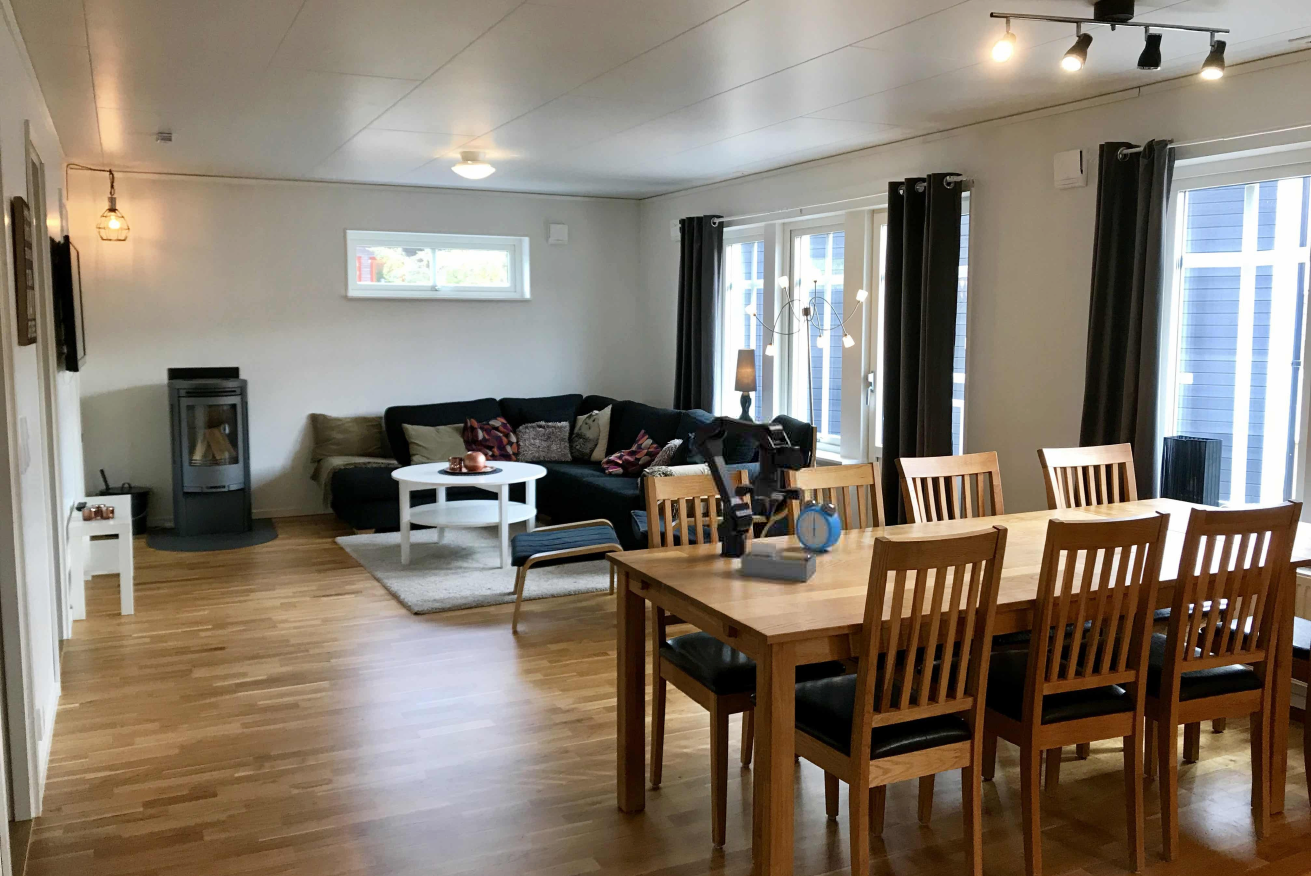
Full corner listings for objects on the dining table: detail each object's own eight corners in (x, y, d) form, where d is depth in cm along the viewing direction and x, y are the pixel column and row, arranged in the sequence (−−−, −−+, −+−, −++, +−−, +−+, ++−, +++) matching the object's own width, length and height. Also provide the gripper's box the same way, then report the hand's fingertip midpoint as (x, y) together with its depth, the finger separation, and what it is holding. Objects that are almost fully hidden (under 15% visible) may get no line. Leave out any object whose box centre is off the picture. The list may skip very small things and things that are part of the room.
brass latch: (780, 558, 281) (780, 555, 280) (784, 554, 285) (784, 551, 285) (808, 560, 278) (808, 556, 278) (811, 556, 282) (811, 553, 282)
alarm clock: (793, 548, 315) (795, 499, 313) (805, 544, 319) (806, 496, 318) (830, 554, 306) (832, 505, 304) (841, 551, 311) (843, 502, 309)
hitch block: (741, 575, 281) (741, 557, 280) (752, 565, 292) (753, 548, 292) (806, 582, 275) (807, 563, 274) (815, 571, 286) (816, 554, 285)
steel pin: (750, 570, 285) (750, 544, 284) (752, 568, 288) (753, 541, 287) (772, 572, 283) (773, 545, 282) (775, 570, 285) (775, 543, 284)
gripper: (729, 469, 288) (728, 524, 290) (795, 473, 282) (794, 529, 284) (740, 464, 299) (739, 517, 300) (804, 467, 292) (802, 522, 294)
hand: (768, 521), depth 294 cm, fingers closed
